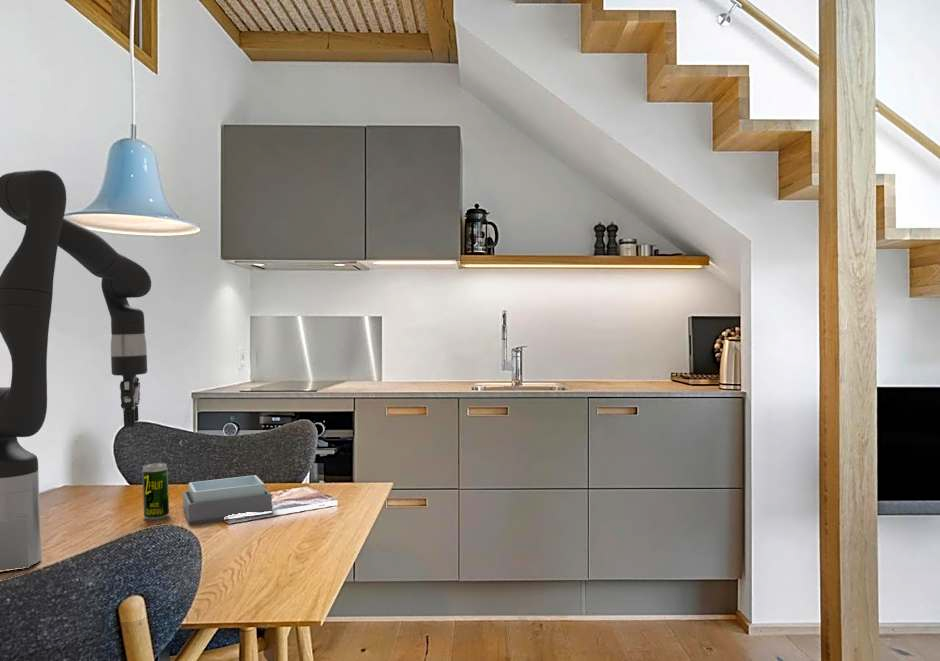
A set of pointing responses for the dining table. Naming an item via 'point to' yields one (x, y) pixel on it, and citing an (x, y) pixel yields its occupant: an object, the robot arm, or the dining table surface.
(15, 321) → the robot arm
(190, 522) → the bottom crate
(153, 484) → the beer can
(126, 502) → the dining table surface
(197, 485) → the top crate
